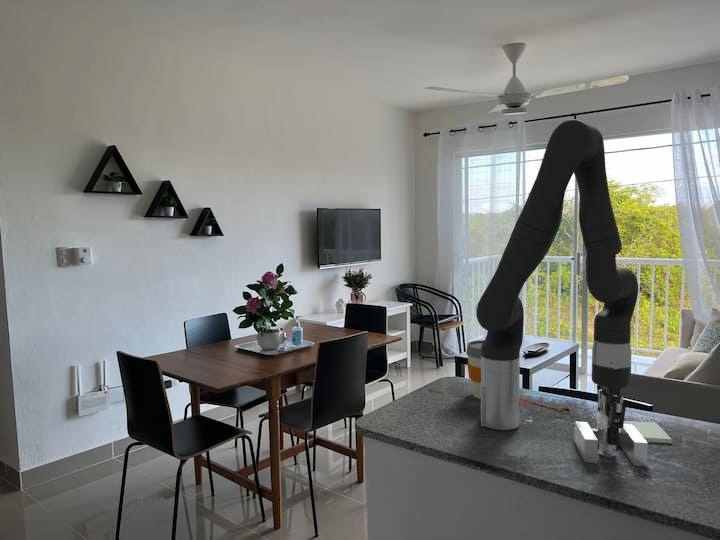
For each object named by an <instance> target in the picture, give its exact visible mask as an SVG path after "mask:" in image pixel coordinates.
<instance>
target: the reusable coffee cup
mask: <svg viewBox="0 0 720 540" xmlns="http://www.w3.org/2000/svg"><path fill="white" fill-rule="evenodd" d="M484 340H485V339H481V340H473V341H469V342H467V345H466V355H467V364H466V365H467V371H468V378H469V380H470V382H471V383H470V384H471V392H472V396H473V397H474V398H476V399H479V400H481V346H482V343H483V342H484Z"/></svg>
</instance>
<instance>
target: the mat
mask: <svg viewBox="0 0 720 540" xmlns="http://www.w3.org/2000/svg"><path fill="white" fill-rule="evenodd" d="M624 424H633V425H634V427H635V428H636V429H637V430H638V432H639V433H640V434H641V435H642V437H643V438H644V439H645V440H646V441H647V443H655V444H656V443H659V444H672V440H673V439H672V438H671V437H670V436H669V435H668V434H667V432H665V430H664V429H663V428H662V427H661V426H660V425H659V424H658V423H657V422H654V421H653V422H652V421H635V420H634V421H632V420H631V421H630V420H624ZM619 430H620V428H619Z"/></svg>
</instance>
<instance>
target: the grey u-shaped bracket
mask: <svg viewBox="0 0 720 540" xmlns="http://www.w3.org/2000/svg"><path fill="white" fill-rule="evenodd" d="M574 425H575V426H574V427H573V441H574V444H575V446H576V448H577V450H578V452H579V454H580V456H581V459H582V460H583V462H584V463H589V464H590V463H591V464H598V450H599V445H598V429H597V428H594V427H593V428H592V427H591V426H590V424H589V423H588V422H587V421H575V423H574ZM648 444H649V442H647V441H646V440H645V439H644V438H643V437H642V435H641V434H640V433H639V432H638V430H637V429H636V428H635V427H634V425H633V424H624V427H623V429H620V430H619V444H618V445H617V446H619V447H620V448H621V449H622V450H623V452H624V454H625V455H626V457H627V458H628V460H629V461H630V463H631V464H632V466H634V467H646V468H647V467H648V447H649V445H648Z"/></svg>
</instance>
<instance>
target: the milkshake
mask: <svg viewBox="0 0 720 540" xmlns="http://www.w3.org/2000/svg"><path fill="white" fill-rule="evenodd" d="M595 417H596V429H598V453H599V455H601V456H603V457H607V458H614V457H615V456H616V454H617V447H618V445H609V444H608V443H607V425H606V424H607V419H606V416H605V415H604V412H599V411H598V413H597V414H596V416H595ZM614 422H617V420H616V419H615V420H614Z"/></svg>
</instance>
